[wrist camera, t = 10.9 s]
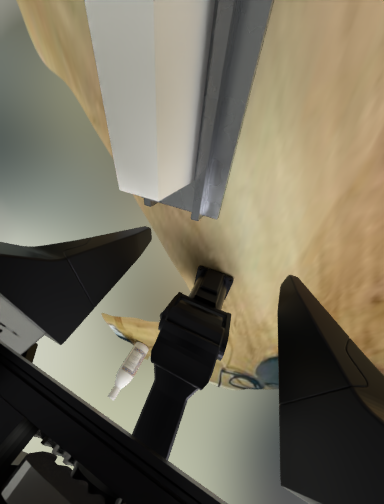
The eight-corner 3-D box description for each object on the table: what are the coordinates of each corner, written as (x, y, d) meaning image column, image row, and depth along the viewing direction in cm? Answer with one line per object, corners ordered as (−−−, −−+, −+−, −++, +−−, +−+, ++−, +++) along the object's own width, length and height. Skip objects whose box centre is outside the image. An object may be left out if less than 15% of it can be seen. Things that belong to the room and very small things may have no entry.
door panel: (194, 181, 18) (158, 201, 12) (164, 174, 19) (119, 190, 13) (231, -130, 8) (136, -813, 2) (165, -114, 9) (-25, -577, 3)
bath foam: (144, 349, 75) (114, 400, 61) (134, 340, 74) (100, 391, 59) (151, 349, 71) (121, 405, 56) (141, 341, 69) (107, 396, 54)
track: (218, 217, 21) (213, 225, 19) (144, 195, 23) (132, 201, 21) (373, -391, 5) (439, -721, 3) (108, -254, 8) (52, -391, 6)
